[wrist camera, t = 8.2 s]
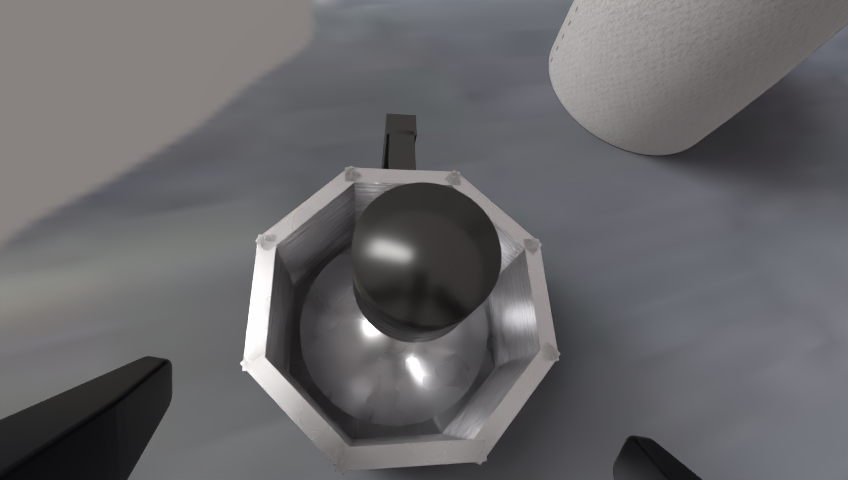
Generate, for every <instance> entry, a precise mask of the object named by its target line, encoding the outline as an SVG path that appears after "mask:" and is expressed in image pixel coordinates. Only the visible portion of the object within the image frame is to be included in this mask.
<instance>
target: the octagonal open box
mask: <svg viewBox="0 0 848 480" xmlns="http://www.w3.org/2000/svg"><path fill="white" fill-rule="evenodd" d="M416 136H417V132H416V115H400V114H387V116H386V126H385V137H384V147H383V157H382V168H381V169H370V168H353V167H352V166H350V167H349V168H346V167H345V171H344V172H342V173H341V174H340V175H339V176H337V177H336V178H335V179H333V180H332V181H331V182H330V183H328V184H327V185H326V186H324V187H323V188H322V189H321V190H319V191H318V192H317V193H315V194H314V195H313V196H312V197H310V198H309V199H308V200H306V201H305V202H304V203H303V204H301V205H300V206H299V207H298V208H296V209H295V210H294V211H292V212H291V213H290V214H289V215H287V216H286V217H285V218H283V219H282V220H281V221H280V222H278V223H277V224H276V225H274V226H273V227H272V228H271V229H269V230H268V231H267V232H265V233H264V234H263V235H258V239H256V240H255V242H256V244H257V251H256V259H255V268H254V276H253V285H252V293H251V301H250V310H249V318H248V327H247V335H246V344H245V352H244V360H243V361H242V362H241V363H240V364H241V365H242V366H243V369H242V371H244V372H246V373H249V374H250V375H251V376H252V377H253V378H254V379H255V380H256V381H257V382H258V383H259V384H260V385H261V387H262V388H263V389H264V390H265V391H266V392H267V393H268V394H269V395H270V396H271V397H272V398H273V399H274V401H275V402H276V403H277V404H278V405H279V406H280V407H281V408H282V409H283V410H284V411H285V412H286V413H287V415H288V416H289V417H290V418H291V419H292V420H293V421H294V422H295V423H296V424H297V425H298V426H299V428H300V429H301V430H302V431H303V432H304V433H305V434H306V435H307V436H308V437H309V438H310V439H311V440H312V442H313V443H314V444H315V445H316V446H317V447H318V448H319V449H320V450H321V451H322V452H323V453H324V455H325V456H326V457H327V458H328V459H329V460H330V461H331V462H332V463H333V464H334V465H335V466H336V471H335V472H341V473H342V474H343V475H344V474H345V472H346V471H354V470H368V469H382V468H397V467H411V466H425V465H439V464H454V463H468V462H473V463H476V464H479V465H481V463H482V462H483V461H487V455H488V454H489V452H490V451H491V450H492V448H493V447H494V445H495V444H496V443H497V441H498V440H499V438H500V437H501V436H502V434H503V433H504V431H505V430H506V429H507V427H508V426H509V425H510V423H511V422H512V420H513V419H514V418H515V416H516V415H517V413H518V412H519V411H520V409H521V408H522V407H523V405H524V404H525V402H526V401H527V400H528V398H529V397H530V395H531V394H532V393H533V391H534V390H535V389H536V387H537V386H538V384H539V383H540V382H541V380H542V379H543V377H544V376H545V375H546V373H547V372H548V371H549V369H550V368H551V366H552V365H553V364H554V362H556V361H559V355H560V353H559V352H558V350H557V344H556V338H555V332H554V326H553V320H552V315H551V309H550V303H549V297H548V291H547V285H546V279H545V273H544V267H543V261H542V255H541V249H540V246H541V245H542V244H541V243H540V242H539V239H535V238H534V237H532V236H531V235H530V234H529V233H528V232H527V231H525V230H524V229H523V228H522V227H521V226H520V225H518V224H517V223H516V222H515V221H514V220H512V219H511V218H510V217H509V216H508V215H507V214H505V213H504V212H503V211H502V210H501V209H500V208H498V207H497V206H496V205H495V204H494V203H492V202H491V201H490V200H489V199H488V198H487V197H485V196H484V195H483V194H482V193H481V192H480V191H478V190H477V189H476V188H475V187H474V186H472V185H471V184H470V183H469V182H468V181H467V180H465V179H464V178H463V177H462V176H461V175H460V172H456V171H455V170H453V171H452V172H444V171H420V170H416V163H415V141H416ZM417 182H428V183H436V184H440V185H444V186H448V187H450V188H453V189H455V190H457V191H459V192H461V193H463V194H465V195H466V196H468V197H469V198H471V199H472V200H473V201H475V202H476V203H477V204H478V205H479V206H480V207H481V208H482V209H483V210H484V211H485V213H486V214H487V215H488V217H489V218H490V220H491V221H492V223H493V225H494V227H495V229H496V231H497V234H498V237H499V240H500V245H501V252H502V262H501V270H500V274H499V277H498V280H497V282H496V285H495V287H494V289H493V290H492V292H491V294H490V295H489V296H488V297H487V299H486V300H485V301H484V302H483V303H484V307H485V311H486V316H487V324H488V340H487V348H486V353H485V356H484V360H483V363H482V366H481V368H480V371H479V373H478V375H477V377H476V378H475V380H474V382H473V384H472V385H471V386H470V388H469V389H468V390H467V392H466V393H465V394H464V395H463V396H462V397H461V398H460V399H459V400H458V401H457V402H456V403H455V404H454V405H452V406H451V407H450V408H448V409H447V410H446V411H444V412H442V413H441V414H439V415H437V416H435V417H433V418H431V419H428V420H425V421H423V422H419V423H415V424H410V425H402V426H386V425H378V424H373V423H369V422H366V421H363V420H360V419H358V418H355V417H353V416H351V415H349V414H348V413H346V412H344V411H342V410H341V409H340V408H338V407H337V406H336V405H334V404H333V403H332V402H331V401H330V400H329V399H328V398H327V397H326V396H325V395H324V394H323V393H322V392H321V390H320V389H319V388H318V386H317V385H316V384H315V382H314V380H313V378H312V377H311V375H310V373H309V371H308V368H307V366H306V363H305V361H304V357H303V353H302V348H301V341H300V320H301V315H302V309H303V306H304V303H305V300H306V297H307V294H308V292H309V290H310V288H311V286H312V284H313V283H314V281H315V280H316V278H317V277H318V275H319V274H320V273H321V272H322V270H323V269H324V268H325V267H326V266H327V265H328V264H329V263H330V262H331V261H332V260H333V259H334V258H336V257H337V256H338V255H340V254H341V253H343V252H344V251H346V250H348V249H350V248H351V247H352V240H353V234H354V230H355V227H356V224H357V222H358V220H359V218H360V216H361V215H362V213H363V212H364V210H365V209H366V208H367V206H368V205H369V204H370V203H371V202H372V201H373V200H374V199H376V198H377V197H378V196H380V195H381V194H383V193H384V192H386V191H388V190H390V189H392V188H394V187H397V186H400V185H404V184H409V183H417Z"/></svg>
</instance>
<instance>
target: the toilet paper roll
mask: <svg viewBox="0 0 848 480" xmlns="http://www.w3.org/2000/svg"><path fill="white" fill-rule="evenodd" d="M847 24H848V0H574V2H573V4H572V6H571V8H570V10H569V12H568V14H567V17H566V19H565V21H564V23H563V25H562V27H561V30H560V32H559V34H558V36H557V38H556V40H555V43H554V45H553V47H552V50H551V52H550V57H549V75H550V80H551V83H552V86H553V88H554V91H555V93H556V95H557V97H558V99H559V100H560V102H561V103H562V105H563V106H564V107H565V109H566V110H567V111H568V113H569V114H570V115H571V116H572V117H573V118H574V119H575V120H576V121H577V122H578V123H579V124H580V125H581V126H583V127H584V128H585V129H586V130H588V131H589V132H590V133H592V134H593V135H595V136H596V137H598V138H600V139H601V140H603V141H605V142H607V143H609V144H611V145H613V146H616V147H618V148H621V149H624V150H627V151H630V152H634V153H639V154H644V155H669V154H674V153H678V152H681V151H684V150H686V149H688V148H690V147H692V146H693V145H695V144H696V143H698V142H699V141H700V140H702V139H703V138H704V137H706V136H707V135H708V134H710V133H711V132H713V131H714V130H715V129H717V128H718V127H719V126H721V125H722V124H723V123H725V122H726V121H727V120H729V119H730V118H732V117H733V116H734V115H736V114H737V113H738V112H739V111H741V110H742V109H743V108H745V107H746V106H747V105H749V104H750V103H751V102H752V101H754V100H755V99H756V98H758V97H759V96H760V95H762V94H763V93H764V92H765V91H767V90H768V89H769V88H771V87H772V86H773V85H775V84H776V83H777V82H778V81H780V80H781V79H782V78H783V77H785V76H786V75H787V74H788V73H789V72H791V71H792V70H793V69H794V68H795V67H797V66H798V65H799V64H800V63H801V62H803V61H804V60H805V59H806V58H807V57H809V56H810V55H811V54H812V53H813V52H815V51H816V50H817V49H818V48H819V47H821V46H822V45H823V44H824V43H825V42H827V41H828V40H829V39H830V38H832V37H833V36H834V35H835V34H836V33H838V32H839V31H840V30H841V29H842V28H843V27H845V26H846V25H847Z"/></svg>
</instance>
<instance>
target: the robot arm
mask: <svg viewBox="0 0 848 480" xmlns="http://www.w3.org/2000/svg"><path fill="white" fill-rule="evenodd" d="M171 398H172V364H171V362H170V360H168V359H164V358H158V357H152V356H147V357H143V358H141V359H138V360H136V361H134V362H131V363H129V364H127V365H125V366H122V367H120V368H118V369H115V370H113V371H111V372H109V373H106V374H104V375H102V376H99V377H97V378H95V379H93V380H90V381H88V382H86V383H83V384H81V385H79V386H76V387H74V388H72V389H70V390H67V391H65V392H63V393H60V394H58V395H56V396H54V397H51V398H49V399H47V400H44V401H42V402H40V403H38V404H35V405H33V406H31V407H28V408H26V409H24V410H22V411H19V412H17V413H15V414H12V415H10V416H8V417H5V418H3V419H1V420H0V480H127V479H128V478H129V476H130V474H131V472H132V471H133V469H134V467H135V465H136V464H137V462H138V460H139V458H140V457H141V455H142V453H143V451H144V449H145V448H146V446H147V444H148V442H149V441H150V439H151V437H152V435H153V434H154V432H155V430H156V428H157V427H158V425H159V423H160V421H161V420H162V418H163V416H164V414H165V412H166V411H167V409H168V407H169V405H170V402H171ZM613 476H614V480H702V479H701V478H700V477H698V476H697V475H696V474H695V473H693V472H692V471H691V470H690V469H688V468H687V467H686V466H685V465H683V464H682V463H681V462H680V461H679V460H677V459H676V458H675V457H674V456H672V455H671V454H670V453H669V452H667V451H666V450H665V449H664V448H662V447H661V446H660V445H659V444H657V443H656V442H655V441H654V440H652V439H650V438H646V437H640V436H629V437H628V438H627V439H626V441H625V443H624V445H623V447H622V449H621V451H620V453H619V455H618V457H617V459H616V461H615V463H614V467H613Z"/></svg>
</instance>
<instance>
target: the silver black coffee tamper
mask: <svg viewBox="0 0 848 480" xmlns="http://www.w3.org/2000/svg"><path fill="white" fill-rule="evenodd" d="M501 262H502V252H501V245H500V240H499V237H498V234H497V231H496V229H495V227H494V225H493V223H492V221H491V220H490V218H489V217H488V215H487V214H486V213H485V211H484V210H483V209H482V208H481V207H480V206H479V205H478V204H477V203H476V202H475V201H473V200H472V199H471V198H469V197H468V196H466V195H465V194H463V193H461V192H459V191H457V190H455V189H453V188H450V187H448V186H444V185H440V184H436V183H428V182H417V183H409V184H404V185H400V186H397V187H394V188H392V189H390V190H388V191H386V192H384V193H383V194H381V195H380V196H378V197H377V198H376V199H374V200H373V201H372V202H371V203H370V204H369V205H368V206H367V208H366V209H365V210H364V212H363V213H362V215H361V216H360V218H359V220H358V222H357V224H356V227H355V230H354V234H353V240H352V247H351V248H350V249H348V250H346V251H344V252H343V253H341V254H340V255H338V256H337V257H336V258H334V259H333V260H332V261H331V262H330V263H329V264H328V265H327V266H326V267H325V268H324V269H323V270H322V272H321V273H320V274H319V275H318V277H317V278H316V280H315V281H314V283H313V284H312V286H311V288H310V290H309V292H308V294H307V297H306V300H305V303H304V306H303V309H302V315H301V320H300V341H301V348H302V353H303V357H304V361H305V363H306V366H307V368H308V371H309V373H310V375H311V377H312V378H313V380H314V382H315V384H316V385H317V386H318V388H319V389H320V390H321V392H322V393H323V394H324V395H325V396H326V397H327V398H328V399H329V400H330V401H331V402H332V403H333V404H334V405H336V406H337V407H338V408H340V409H341V410H342V411H344V412H346V413H348V414H349V415H351V416H353V417H355V418H358V419H360V420H363V421H366V422H369V423H373V424H378V425H386V426H402V425H410V424H415V423H419V422H423V421H425V420H428V419H431V418H433V417H435V416H437V415H439V414H441V413H442V412H444V411H446V410H447V409H448V408H450V407H451V406H452V405H454V404H455V403H456V402H457V401H458V400H459V399H460V398H461V397H462V396H463V395H464V394H465V393H466V392H467V390H468V389H469V388H470V386H471V385H472V384H473V382H474V380H475V378H476V377H477V375H478V373H479V371H480V368H481V366H482V363H483V360H484V356H485V353H486V348H487V340H488V324H487V316H486V311H485V307H484V303H483V302H484V301H485V300H486V299H487V297H488V296H489V295H490V294H491V292H492V290H493V289H494V287H495V285H496V282H497V280H498V277H499V274H500V270H501Z"/></svg>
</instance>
